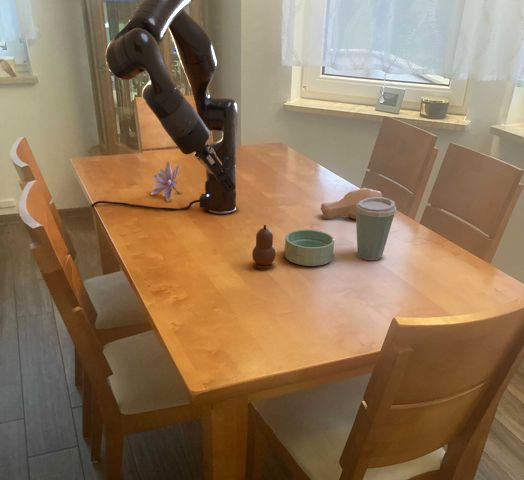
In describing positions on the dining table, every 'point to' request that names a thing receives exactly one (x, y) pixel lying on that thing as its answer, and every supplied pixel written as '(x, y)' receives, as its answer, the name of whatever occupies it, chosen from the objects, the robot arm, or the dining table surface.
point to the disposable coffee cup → (373, 226)
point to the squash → (348, 203)
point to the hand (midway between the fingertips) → (226, 183)
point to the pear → (264, 249)
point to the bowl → (309, 247)
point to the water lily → (165, 181)
